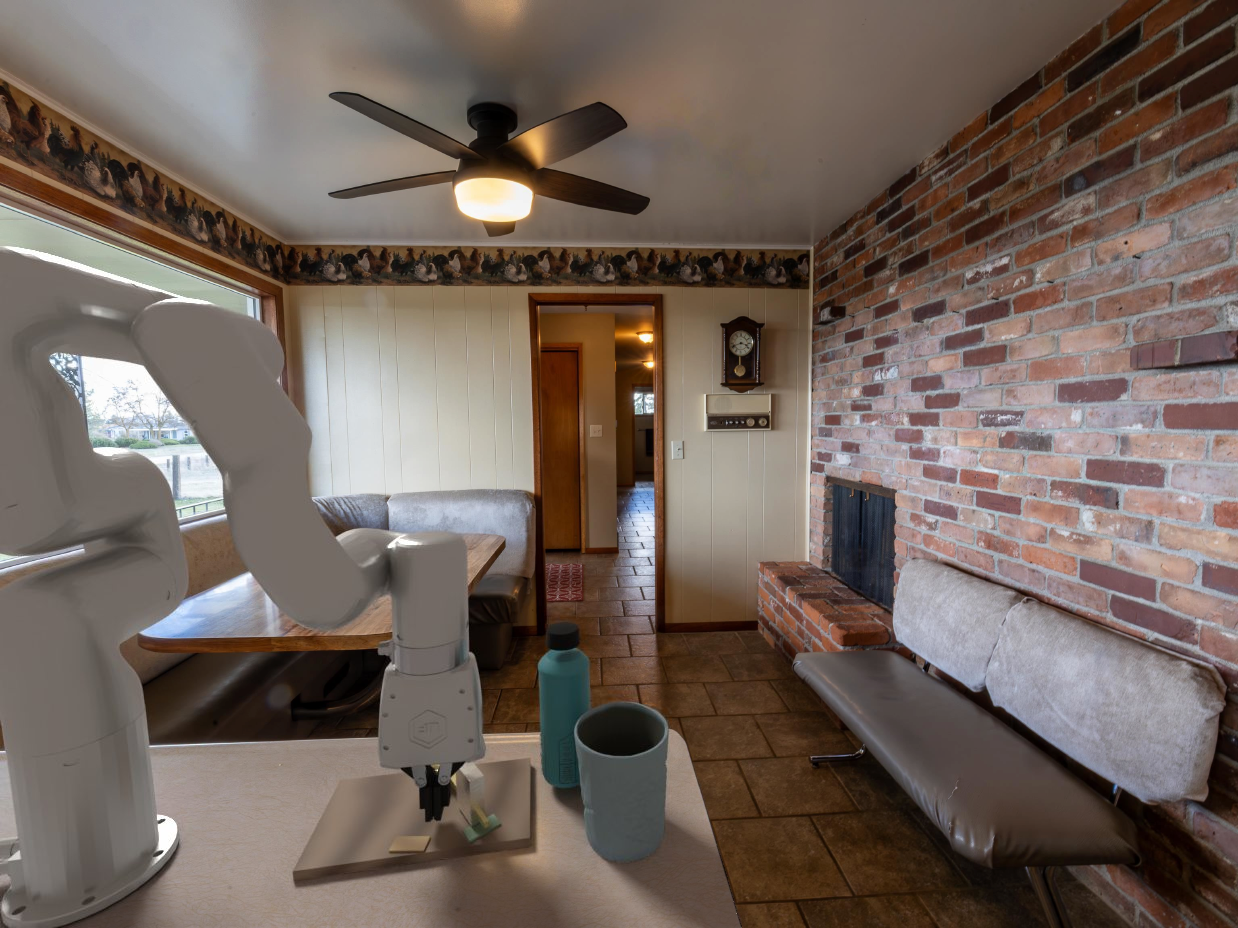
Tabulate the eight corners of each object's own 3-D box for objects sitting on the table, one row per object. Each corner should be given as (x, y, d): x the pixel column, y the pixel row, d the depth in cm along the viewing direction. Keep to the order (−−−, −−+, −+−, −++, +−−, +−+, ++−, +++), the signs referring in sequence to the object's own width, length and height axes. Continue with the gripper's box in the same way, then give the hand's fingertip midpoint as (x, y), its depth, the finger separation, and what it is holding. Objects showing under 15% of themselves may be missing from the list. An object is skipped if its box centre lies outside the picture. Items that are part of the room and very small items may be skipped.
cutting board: (293, 880, 52) (291, 861, 51) (340, 787, 64) (339, 772, 64) (530, 846, 55) (529, 828, 55) (530, 764, 68) (530, 750, 68)
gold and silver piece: (422, 771, 65) (420, 732, 64) (453, 757, 67) (452, 720, 67) (468, 844, 54) (466, 798, 53) (504, 825, 56) (502, 780, 56)
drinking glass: (675, 866, 52) (675, 754, 51) (574, 872, 52) (572, 759, 51) (662, 793, 63) (661, 698, 61) (577, 797, 62) (575, 701, 61)
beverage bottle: (586, 804, 61) (582, 640, 59) (532, 797, 62) (527, 635, 60) (599, 767, 67) (596, 617, 65) (550, 761, 69) (546, 614, 67)
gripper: (343, 672, 50) (350, 848, 52) (502, 661, 53) (504, 830, 54) (367, 638, 58) (372, 794, 59) (506, 631, 60) (507, 780, 62)
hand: (435, 811), depth 57 cm, fingers closed
